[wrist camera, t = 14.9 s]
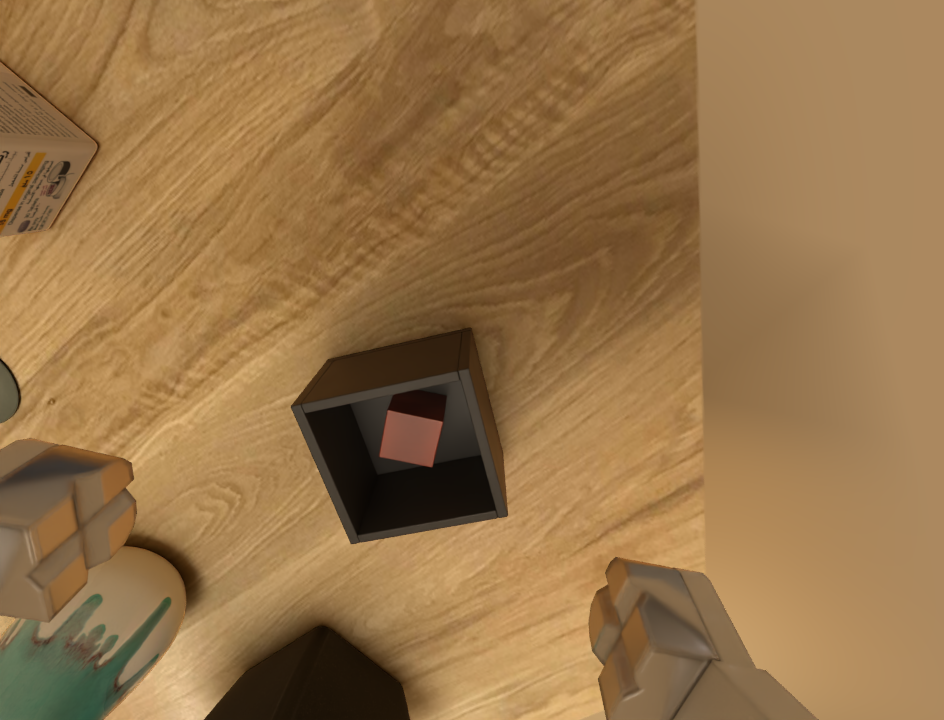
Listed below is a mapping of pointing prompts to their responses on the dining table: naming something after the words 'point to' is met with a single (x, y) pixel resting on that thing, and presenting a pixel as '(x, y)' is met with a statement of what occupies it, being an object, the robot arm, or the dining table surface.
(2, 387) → the coffee cup
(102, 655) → the vase
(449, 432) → the basket
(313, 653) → the flower pot
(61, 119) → the container
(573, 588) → the dining table surface
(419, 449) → the block
